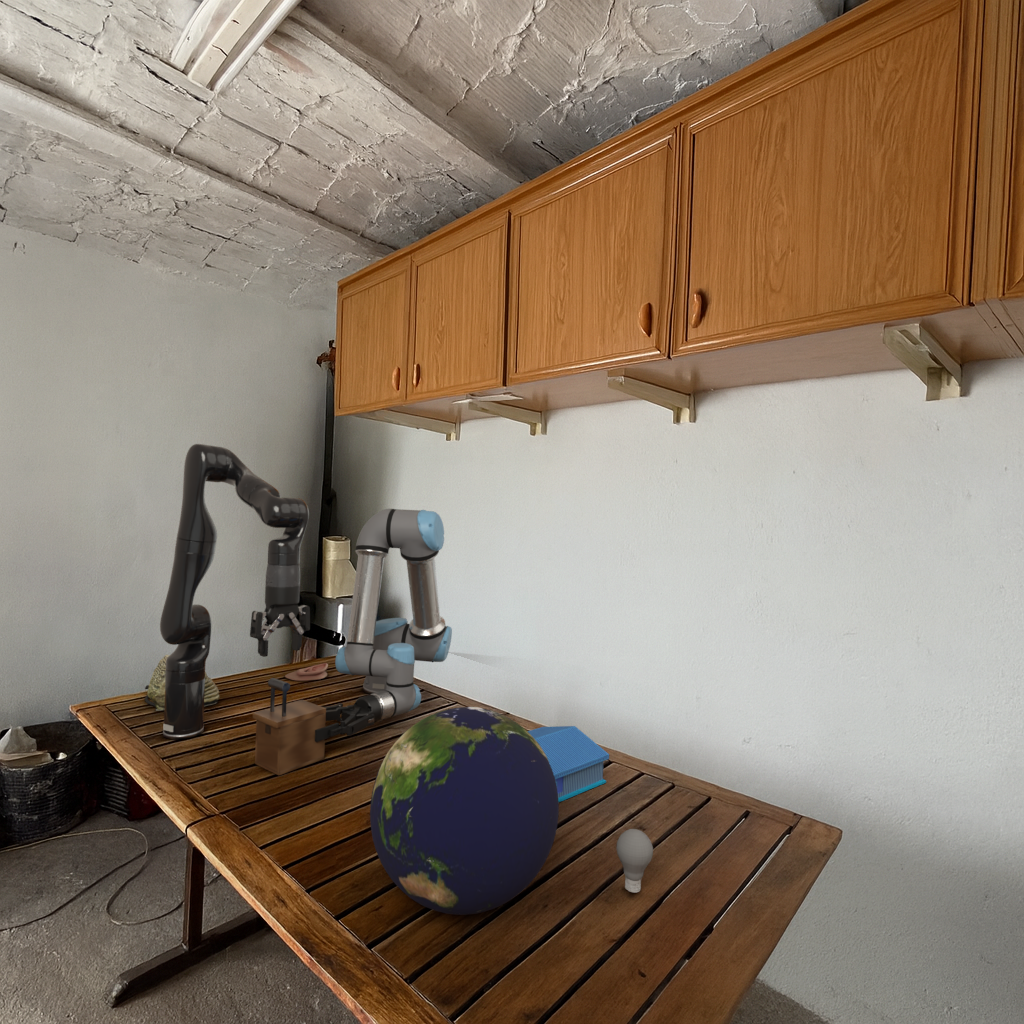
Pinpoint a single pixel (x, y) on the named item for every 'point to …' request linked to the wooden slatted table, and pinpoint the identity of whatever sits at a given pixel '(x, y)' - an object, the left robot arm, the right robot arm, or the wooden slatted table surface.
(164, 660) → the fossil
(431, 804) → the globe
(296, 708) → the lid
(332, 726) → the right robot arm
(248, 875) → the wooden slatted table surface
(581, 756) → the model building
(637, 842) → the light bulb
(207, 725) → the wooden slatted table surface
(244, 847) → the wooden slatted table surface
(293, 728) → the chest
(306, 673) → the anatomical model
